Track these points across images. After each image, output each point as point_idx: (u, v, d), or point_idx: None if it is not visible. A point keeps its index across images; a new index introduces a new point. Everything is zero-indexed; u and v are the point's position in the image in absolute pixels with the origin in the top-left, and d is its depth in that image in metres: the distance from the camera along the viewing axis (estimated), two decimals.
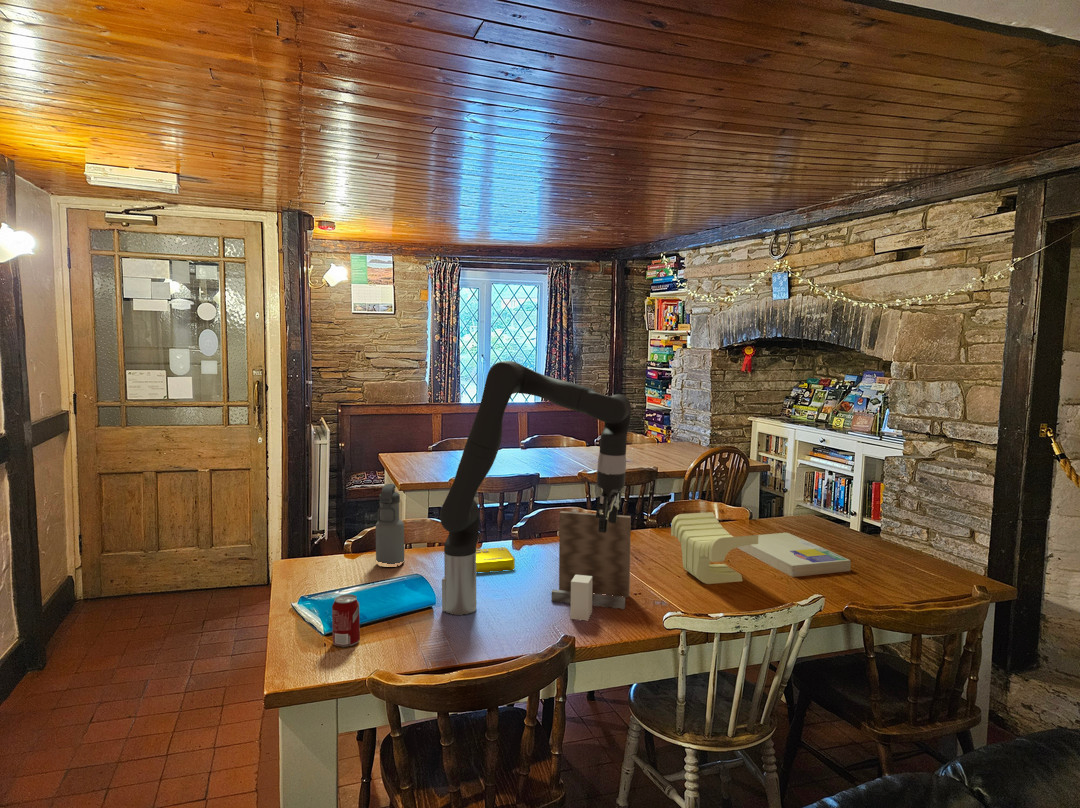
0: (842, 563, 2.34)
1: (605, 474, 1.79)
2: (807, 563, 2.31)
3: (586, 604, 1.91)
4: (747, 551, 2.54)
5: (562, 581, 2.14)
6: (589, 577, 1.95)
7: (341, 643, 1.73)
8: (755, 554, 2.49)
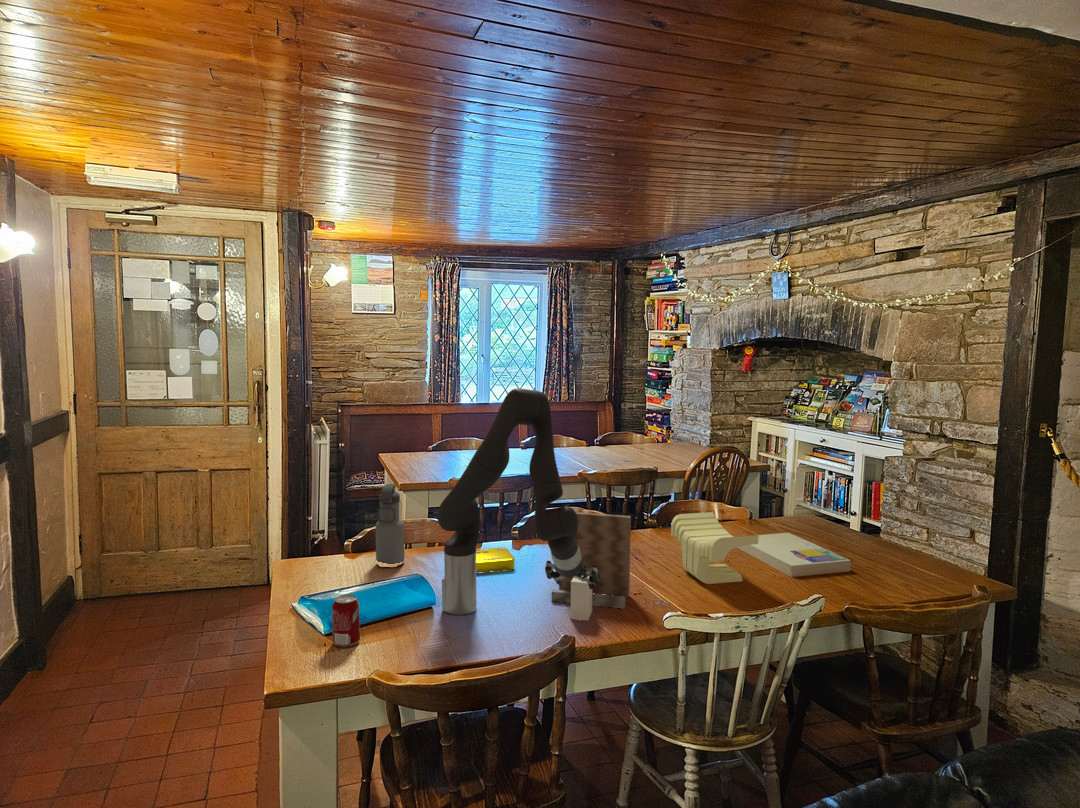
0: (842, 563, 2.33)
1: None
2: (807, 563, 2.31)
3: (586, 604, 1.91)
4: (747, 551, 2.54)
5: None
6: None
7: (341, 643, 1.73)
8: (755, 554, 2.49)
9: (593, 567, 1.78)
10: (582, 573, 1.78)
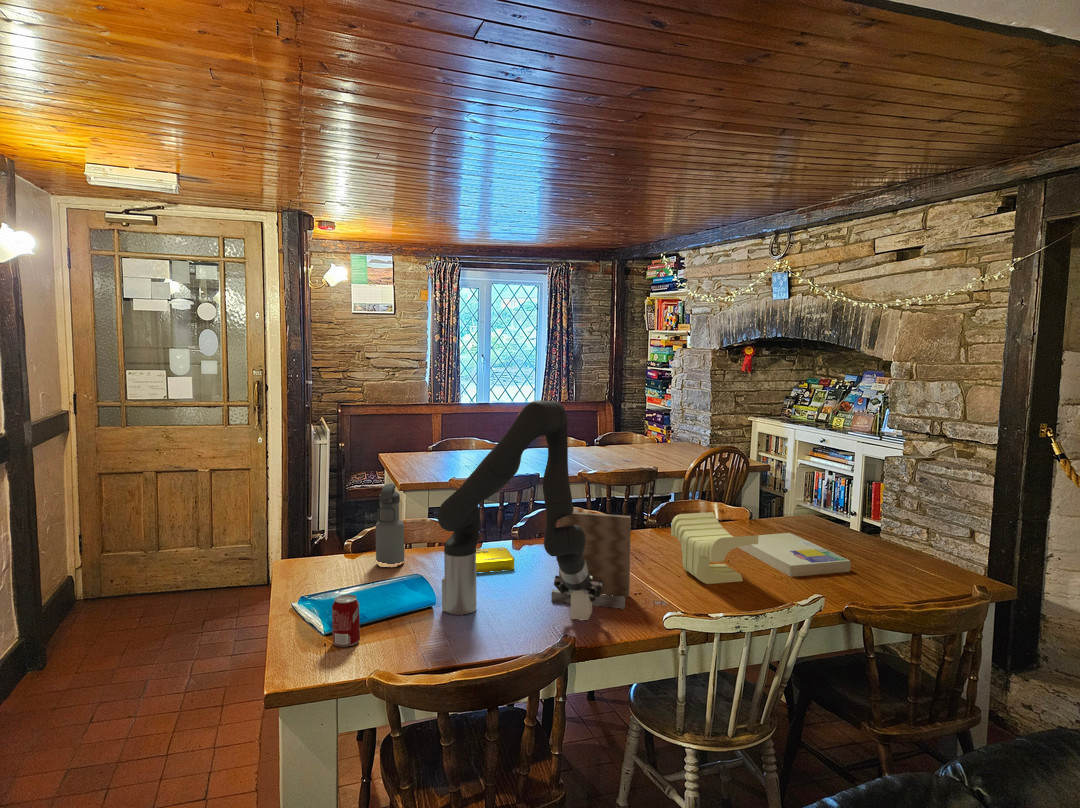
0: (842, 563, 2.33)
1: None
2: (806, 563, 2.30)
3: (586, 604, 1.91)
4: (748, 551, 2.54)
5: None
6: None
7: (341, 643, 1.73)
8: (755, 554, 2.49)
9: (599, 582, 1.87)
10: (588, 586, 1.87)
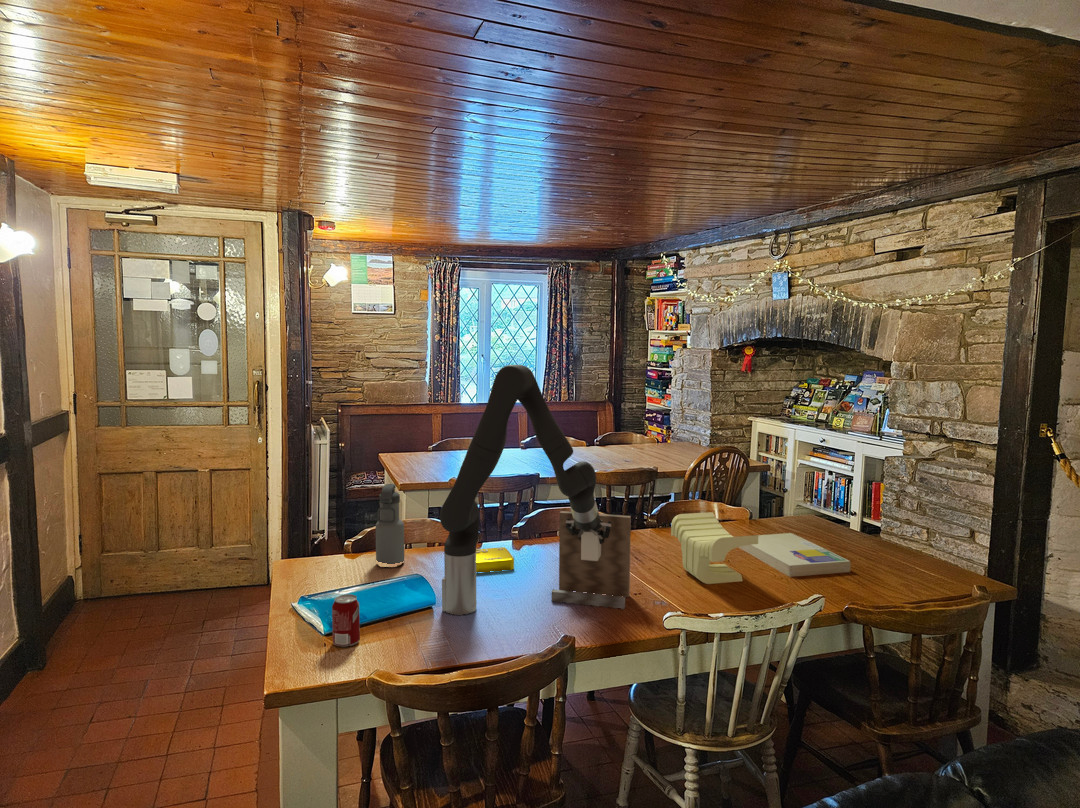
0: (841, 564, 2.33)
1: None
2: (805, 563, 2.30)
3: (596, 545, 2.02)
4: (748, 551, 2.54)
5: (562, 581, 2.14)
6: None
7: (341, 643, 1.73)
8: (755, 554, 2.49)
9: (608, 523, 1.99)
10: (598, 527, 1.99)
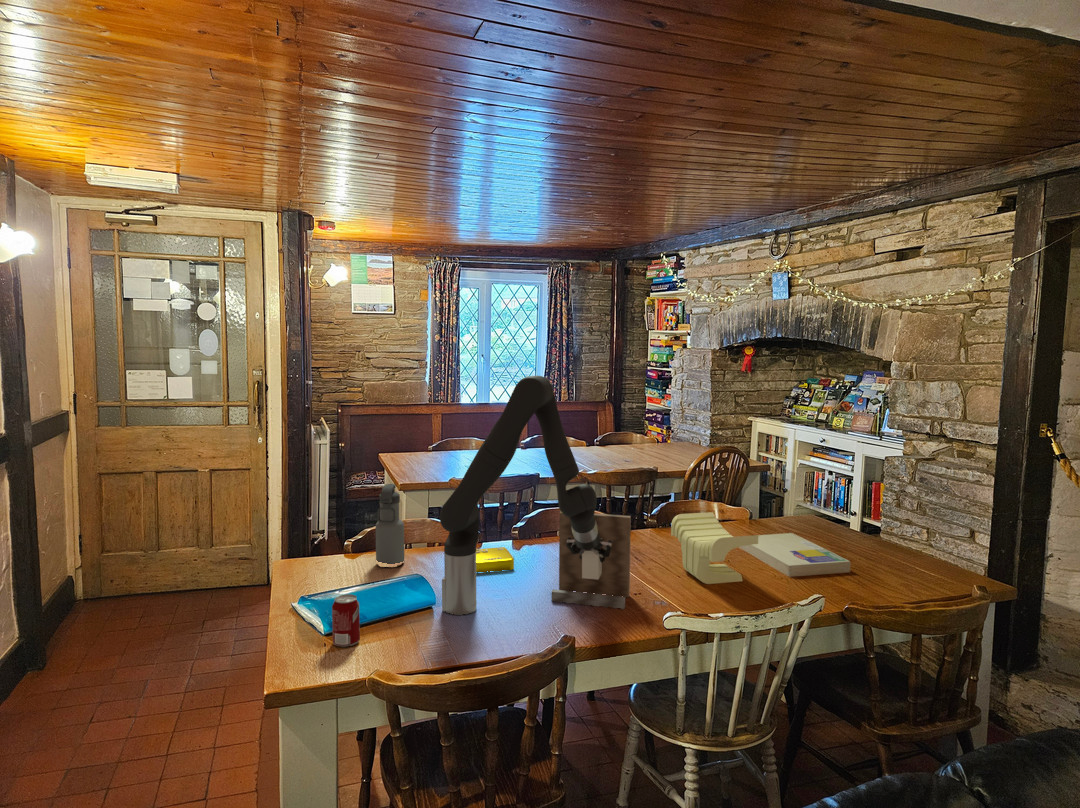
0: (841, 564, 2.32)
1: None
2: (805, 563, 2.30)
3: (596, 563, 2.04)
4: (748, 551, 2.54)
5: (562, 581, 2.14)
6: None
7: (341, 643, 1.73)
8: (755, 554, 2.49)
9: (609, 542, 2.01)
10: (599, 546, 2.00)
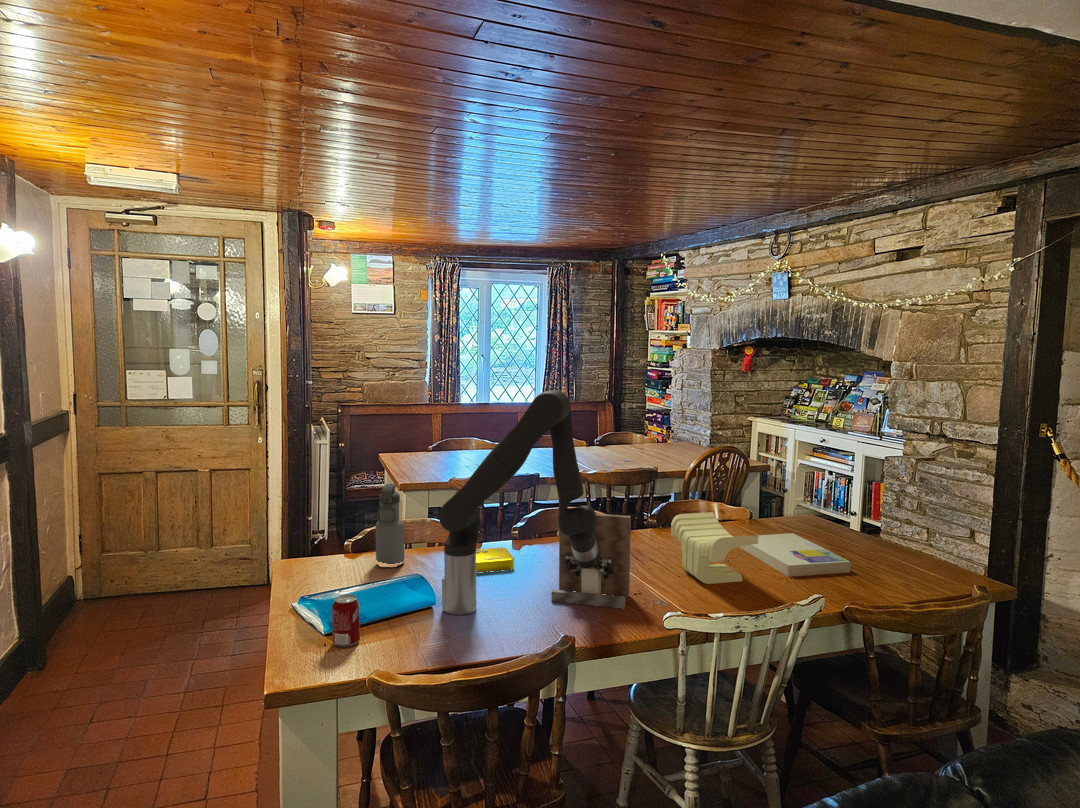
0: (841, 564, 2.32)
1: None
2: (805, 563, 2.30)
3: (596, 586, 2.05)
4: (748, 551, 2.54)
5: (562, 581, 2.14)
6: None
7: (341, 642, 1.73)
8: (755, 554, 2.50)
9: (608, 559, 2.00)
10: (598, 565, 2.01)
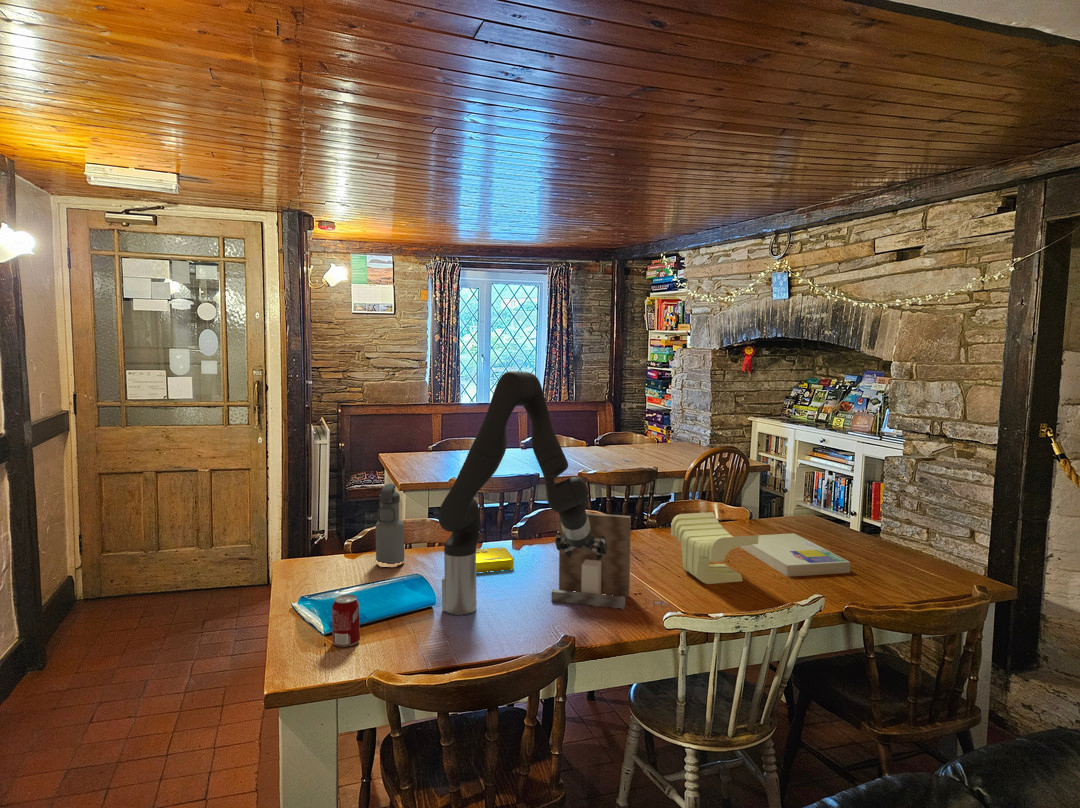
0: (841, 564, 2.32)
1: None
2: (804, 563, 2.30)
3: (596, 586, 2.05)
4: (749, 550, 2.54)
5: (562, 581, 2.14)
6: (598, 561, 2.09)
7: (341, 642, 1.73)
8: (755, 554, 2.50)
9: (601, 538, 1.88)
10: (590, 544, 1.88)
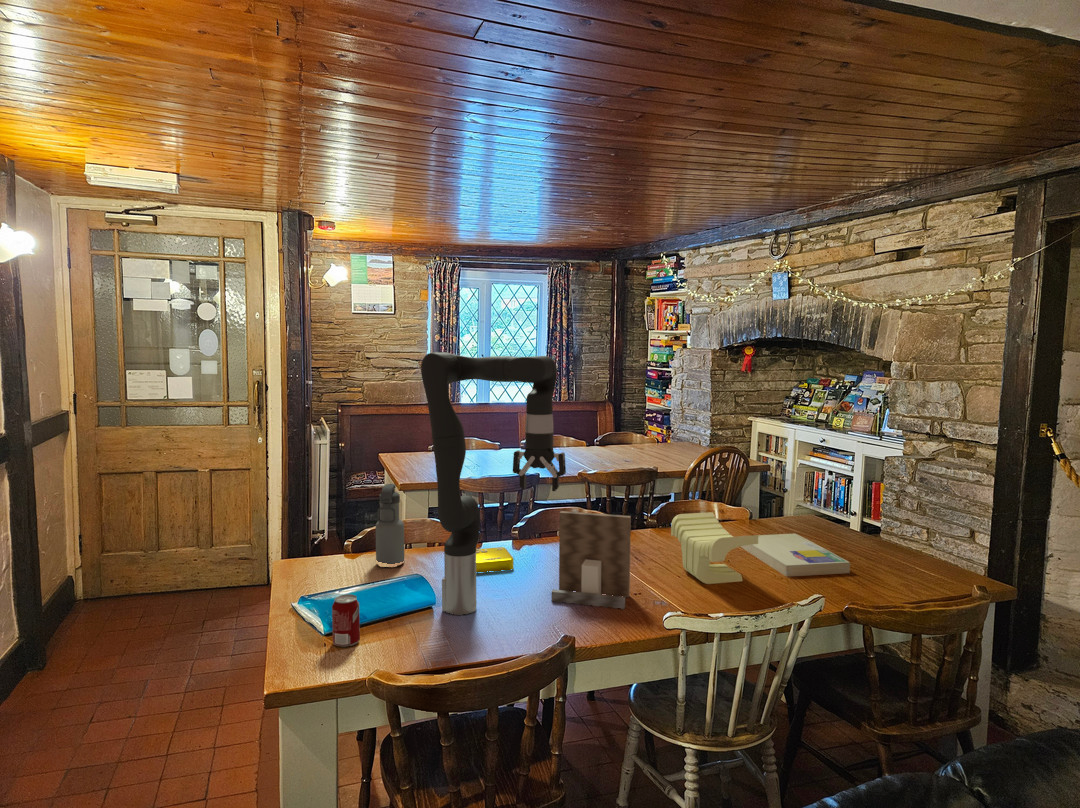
0: (841, 565, 2.32)
1: None
2: (803, 563, 2.30)
3: (596, 586, 2.05)
4: (749, 550, 2.55)
5: (562, 581, 2.14)
6: (598, 561, 2.09)
7: (341, 643, 1.73)
8: (755, 554, 2.50)
9: (561, 453, 1.82)
10: (549, 456, 1.81)
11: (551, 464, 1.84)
